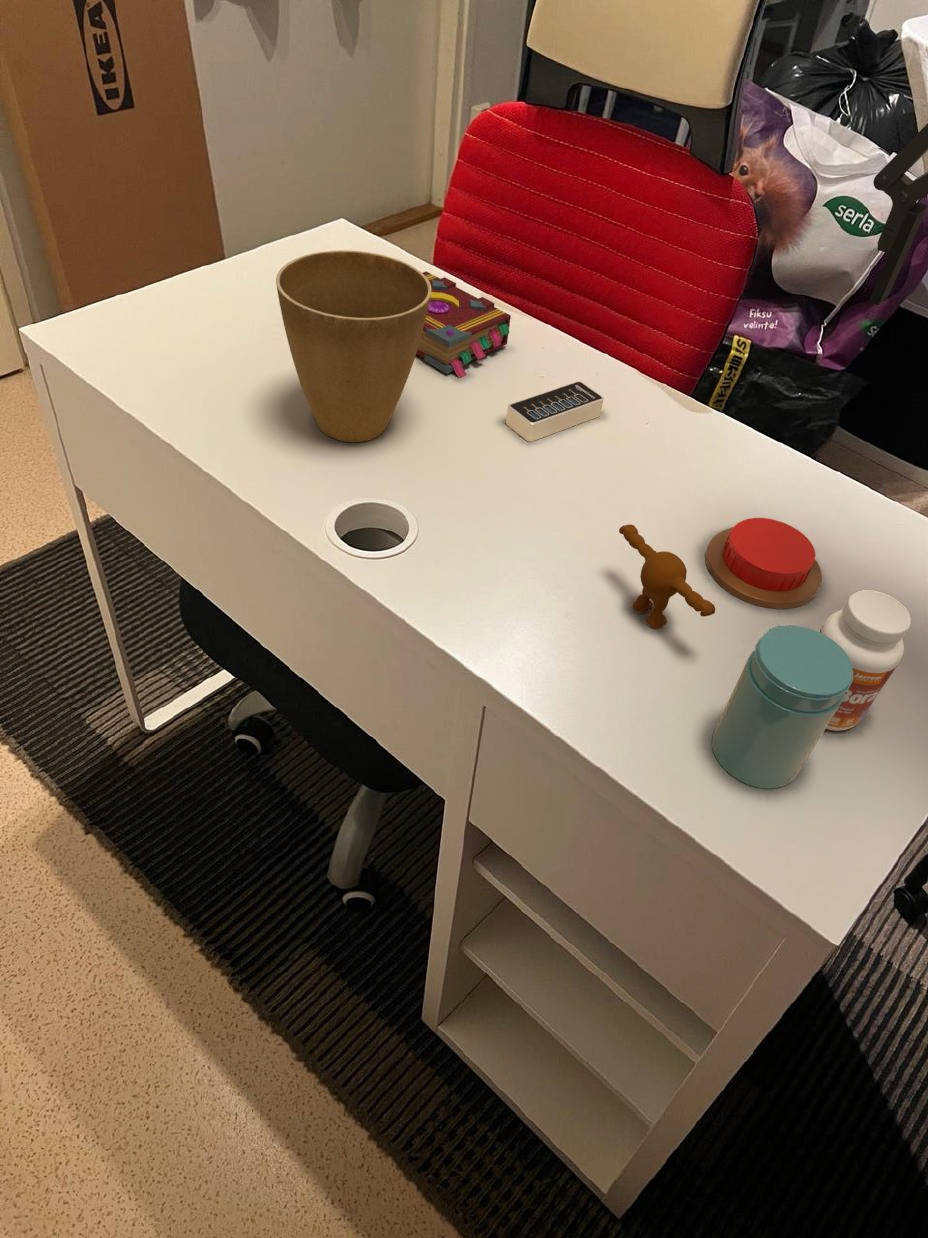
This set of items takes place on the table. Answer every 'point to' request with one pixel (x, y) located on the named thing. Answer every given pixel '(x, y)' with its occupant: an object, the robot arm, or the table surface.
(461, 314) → the decorative book
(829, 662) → the jar
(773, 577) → the cap
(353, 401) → the plant pot
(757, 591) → the coaster
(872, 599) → the pill bottle
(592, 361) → the table surface
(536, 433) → the multiport hub
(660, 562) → the toy figurine
